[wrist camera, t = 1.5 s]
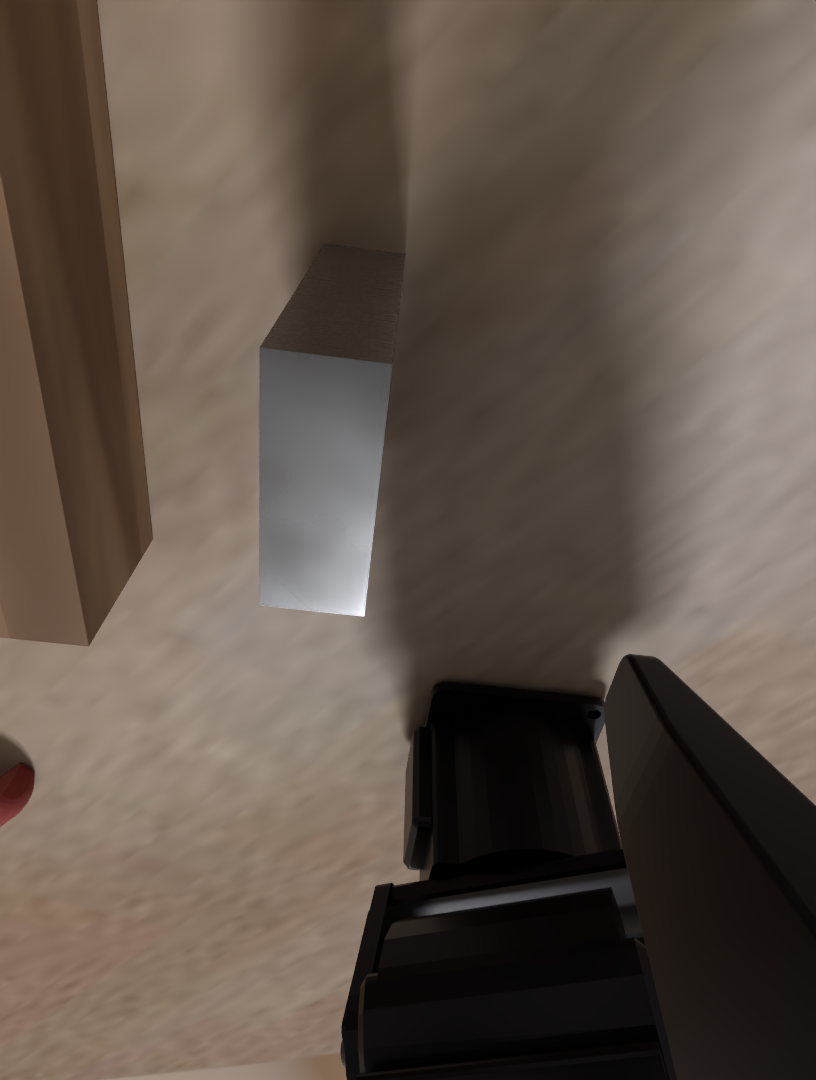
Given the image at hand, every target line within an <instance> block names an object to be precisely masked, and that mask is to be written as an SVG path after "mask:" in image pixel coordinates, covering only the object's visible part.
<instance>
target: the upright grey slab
mask: <svg viewBox="0 0 816 1080" xmlns="http://www.w3.org/2000/svg"><path fill="white" fill-rule="evenodd" d="M404 261H405V254H397V253H390V252H382V251H375V250H367V249H360V248H352V247H345V246H338V245H330V244H324V246H323V248H322V249H321V251H320V252H319V254H318V256H317V257H316V259H315V260H314V262H313V263H312V265H311V267H310V268H309V270H308V271H307V273H306V275H305V276H304V278H303V279H302V281H301V283H300V284H299V286H298V287H297V289H296V291H295V292H294V294H293V295H292V297H291V299H290V300H289V302H288V303H287V305H286V306H285V308H284V310H283V311H282V313H281V314H280V316H279V318H278V319H277V321H276V322H275V324H274V326H273V327H272V329H271V330H270V332H269V334H268V335H267V337H266V338H265V340H264V342H263V343H262V345H261V346H260V584H259V606H269V607H278V608H288V609H297V610H306V611H316V612H325V613H334V614H344V615H353V616H363V617H364V615H365V606H366V597H367V588H368V580H369V571H370V562H371V553H372V544H373V536H374V527H375V518H376V509H377V501H378V492H379V483H380V474H381V466H382V457H383V448H384V439H385V430H386V421H387V413H388V404H389V395H390V386H391V377H392V368H393V359H394V350H395V341H396V332H397V324H398V315H399V306H400V297H401V288H402V279H403V270H404Z"/></svg>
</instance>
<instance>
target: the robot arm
mask: <svg viewBox="0 0 816 1080" xmlns="http://www.w3.org/2000/svg"><path fill="white" fill-rule="evenodd" d="M442 695H449V696H442ZM591 710H595V711H591ZM604 723H605V725H606V734H607V742H608V751H609V759H610V768H611V776H612V785H613V793H614V802H615V810H616V817H617V823H618V828H617V824H616V820H615V816H614V812H613V809H612V805H611V801H610V797H609V793H608V789H607V785H606V781H605V778H604V774H603V770H602V766H601V762H600V758H599V754H598V751H597V747H596V742H597V740H598V738H599V735H600V733H601V730H602V728H603V726H604ZM618 829H619V832H618ZM619 833H620V836H619ZM620 838H621V839H620ZM403 862H404V864H405V865H406V866H407V868H408V869H411V870H420V881H419V882H413V883H406V884H400V885H394V884H393V883H388V884H382V885H377V886H376V887H375V890H374V894H373V899H372V903H371V907H370V910H369V912H368V915H367V919H366V924H365V928H364V932H363V936H362V941H361V945H360V949H359V953H358V958H357V962H356V966H355V970H354V974H353V979H352V983H351V987H350V991H349V996H348V1000H347V1004H346V1008H345V1013H344V1017H343V1021H342V1039H343V1040H342V1043H341V1060H342V1063H343V1065H344V1067H345V1068H346V1076H347V1080H816V805H815V804H813V803H812V802H811V801H810V800H809V799H808V798H807V797H806V796H805V795H804V794H803V793H802V792H801V791H800V790H799V789H797V788H796V787H795V786H794V785H793V784H792V783H791V782H790V781H789V780H788V779H787V778H786V777H785V776H784V775H783V774H781V773H780V772H779V771H778V770H777V769H776V768H775V767H774V766H773V765H772V764H771V763H770V762H769V761H768V760H767V759H765V758H764V757H763V756H762V755H761V754H760V753H759V752H758V751H757V750H756V749H755V748H754V747H753V746H752V745H750V744H749V743H748V742H747V741H746V740H745V739H744V738H743V737H742V736H741V735H740V734H739V733H738V732H737V731H736V730H734V729H733V728H732V727H731V726H730V725H729V724H728V723H727V722H726V721H725V720H724V719H723V718H722V717H721V716H720V715H718V714H717V713H716V712H715V711H714V710H713V709H712V708H711V707H710V706H709V705H708V704H707V703H706V702H705V701H704V700H702V699H701V698H700V697H699V696H698V695H697V694H696V693H695V692H694V691H693V690H692V689H691V688H690V687H689V686H688V685H686V684H685V683H684V682H683V681H682V680H681V679H680V678H679V677H678V676H677V675H676V674H675V673H674V672H673V671H671V670H670V669H669V668H668V667H667V666H666V665H665V664H664V663H663V662H662V661H661V660H659V659H658V658H656V657H652V656H643V655H634V654H629V655H626V656H624V657H623V658H622V660H621V661H620V663H619V666H618V668H617V671H616V673H615V676H614V679H613V681H612V684H611V686H610V689H609V691H608V694H607V697H606V700H605V702H604V700H602V699H601V698H597V697H591V696H581V695H571V694H561V693H552V692H542V691H532V690H522V689H513V688H503V687H493V686H483V685H474V684H464V683H454V682H441V683H438V684H436V685H435V686H434V687H433V689H432V692H431V697H430V702H429V707H428V712H427V717H426V722H425V727H422V726H419V727H418V728H416V729H415V730H414V731H413V736H412V741H411V746H410V752H409V757H408V762H407V768H406V784H405V820H404V856H403Z"/></svg>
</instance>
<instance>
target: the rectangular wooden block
mask: <svg viewBox="0 0 816 1080" xmlns="http://www.w3.org/2000/svg"><path fill="white" fill-rule="evenodd" d="M152 540H153V537H152V528H151V518H150V509H149V499H148V489H147V480H146V470H145V461H144V451H143V441H142V432H141V422H140V413H139V403H138V393H137V384H136V374H135V365H134V355H133V346H132V336H131V326H130V317H129V307H128V298H127V288H126V278H125V269H124V259H123V250H122V240H121V231H120V221H119V211H118V202H117V192H116V183H115V173H114V163H113V154H112V144H111V135H110V125H109V115H108V106H107V96H106V87H105V77H104V68H103V58H102V48H101V39H100V29H99V20H98V10H97V0H0V637H2V638H12V639H22V640H32V641H41V642H51V643H61V644H71V645H80V646H89V645H90V643H91V642H92V640H93V638H94V637H95V635H96V633H97V632H98V630H99V628H100V627H101V625H102V623H103V622H104V620H105V618H106V617H107V615H108V613H109V612H110V610H111V608H112V606H113V605H114V603H115V601H116V600H117V598H118V596H119V595H120V593H121V591H122V590H123V588H124V586H125V585H126V583H127V581H128V580H129V578H130V576H131V575H132V573H133V571H134V570H135V568H136V566H137V565H138V563H139V561H140V560H141V558H142V556H143V555H144V553H145V551H146V550H147V548H148V546H149V545H150V543H151V541H152Z"/></svg>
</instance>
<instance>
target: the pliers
mask: <svg viewBox="0 0 816 1080" xmlns="http://www.w3.org/2000/svg"><path fill="white" fill-rule="evenodd" d="M33 788H34V774H33V772H32V770H31V769H29V768H28V767H27V766H25V765H24V764H22V763H19V764H18V765H16V766H15V767H13V768H12V769H11V770H9V771H8V772H6V773H5V774H4V775H2V776H1V777H0V827H1V826H2V825H3V824H5V823H6V822H7V821H9V820H10V819H12V818H13V817H15V816H16V815H17V814H18V813H19V812H20V811H21V810H22V809H23V808H24V806H25V805H26V804H27V802H28V801H29V799H30V797H31V795H32V792H33Z"/></svg>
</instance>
